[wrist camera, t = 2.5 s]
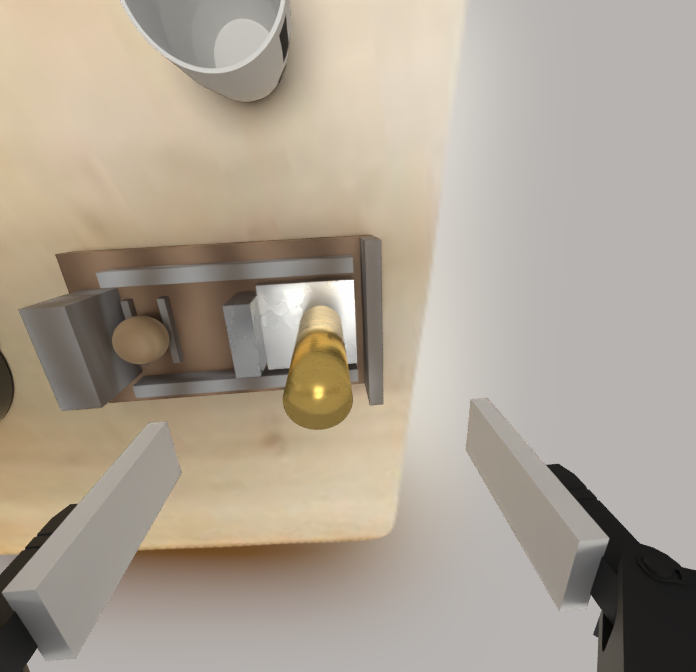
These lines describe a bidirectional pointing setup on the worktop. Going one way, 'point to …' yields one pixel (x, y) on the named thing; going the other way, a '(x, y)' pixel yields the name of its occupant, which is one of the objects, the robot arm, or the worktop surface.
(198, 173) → the worktop surface
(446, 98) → the worktop surface
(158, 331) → the nut
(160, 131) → the worktop surface
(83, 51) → the worktop surface
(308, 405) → the lever
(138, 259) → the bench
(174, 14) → the cup
